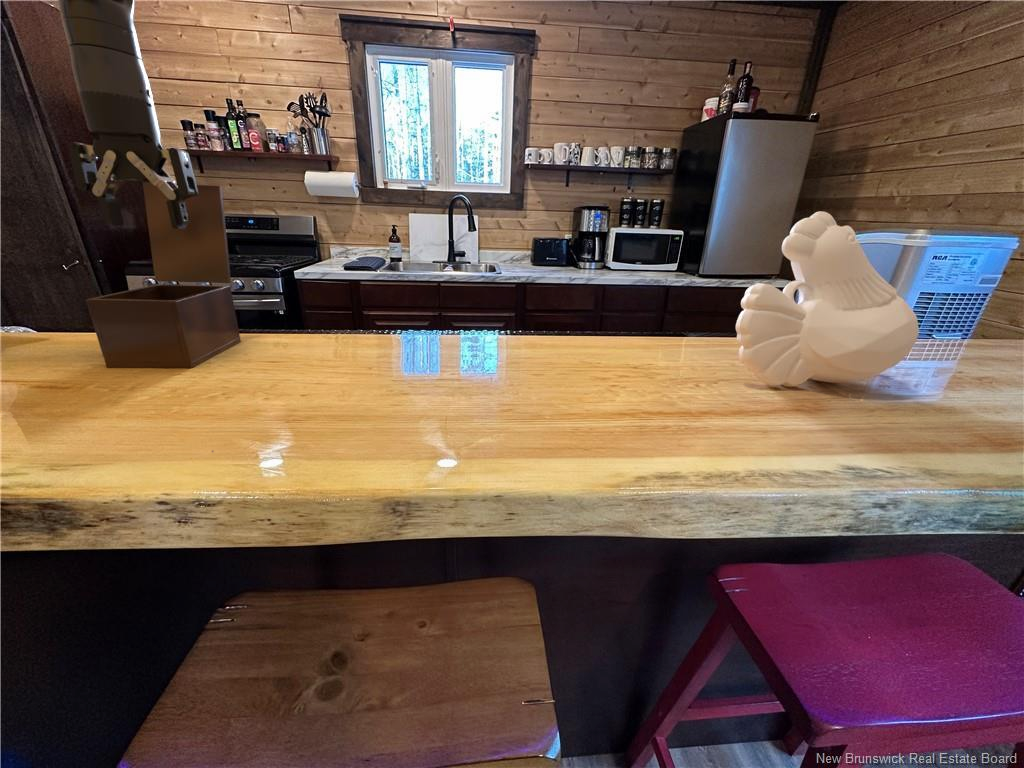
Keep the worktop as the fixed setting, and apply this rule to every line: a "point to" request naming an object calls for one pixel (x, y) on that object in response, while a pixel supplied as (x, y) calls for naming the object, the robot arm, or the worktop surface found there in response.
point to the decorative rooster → (824, 313)
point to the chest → (164, 325)
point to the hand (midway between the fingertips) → (148, 227)
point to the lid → (189, 237)
